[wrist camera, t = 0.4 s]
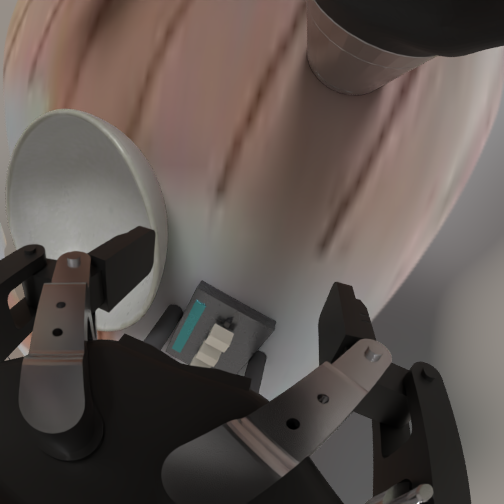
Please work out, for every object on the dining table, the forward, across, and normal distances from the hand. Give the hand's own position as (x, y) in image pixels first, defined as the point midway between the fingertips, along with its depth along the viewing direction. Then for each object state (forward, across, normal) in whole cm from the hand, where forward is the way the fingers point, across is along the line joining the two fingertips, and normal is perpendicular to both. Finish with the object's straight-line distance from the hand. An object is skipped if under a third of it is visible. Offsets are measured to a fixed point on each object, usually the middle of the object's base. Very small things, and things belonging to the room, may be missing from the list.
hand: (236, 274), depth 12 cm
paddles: (+19, +4, +24) cm, 31 cm away
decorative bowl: (+22, +22, +7) cm, 31 cm away
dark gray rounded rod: (+22, +11, +22) cm, 33 cm away
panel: (+22, +4, +24) cm, 33 cm away
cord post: (+22, -4, +26) cm, 35 cm away
